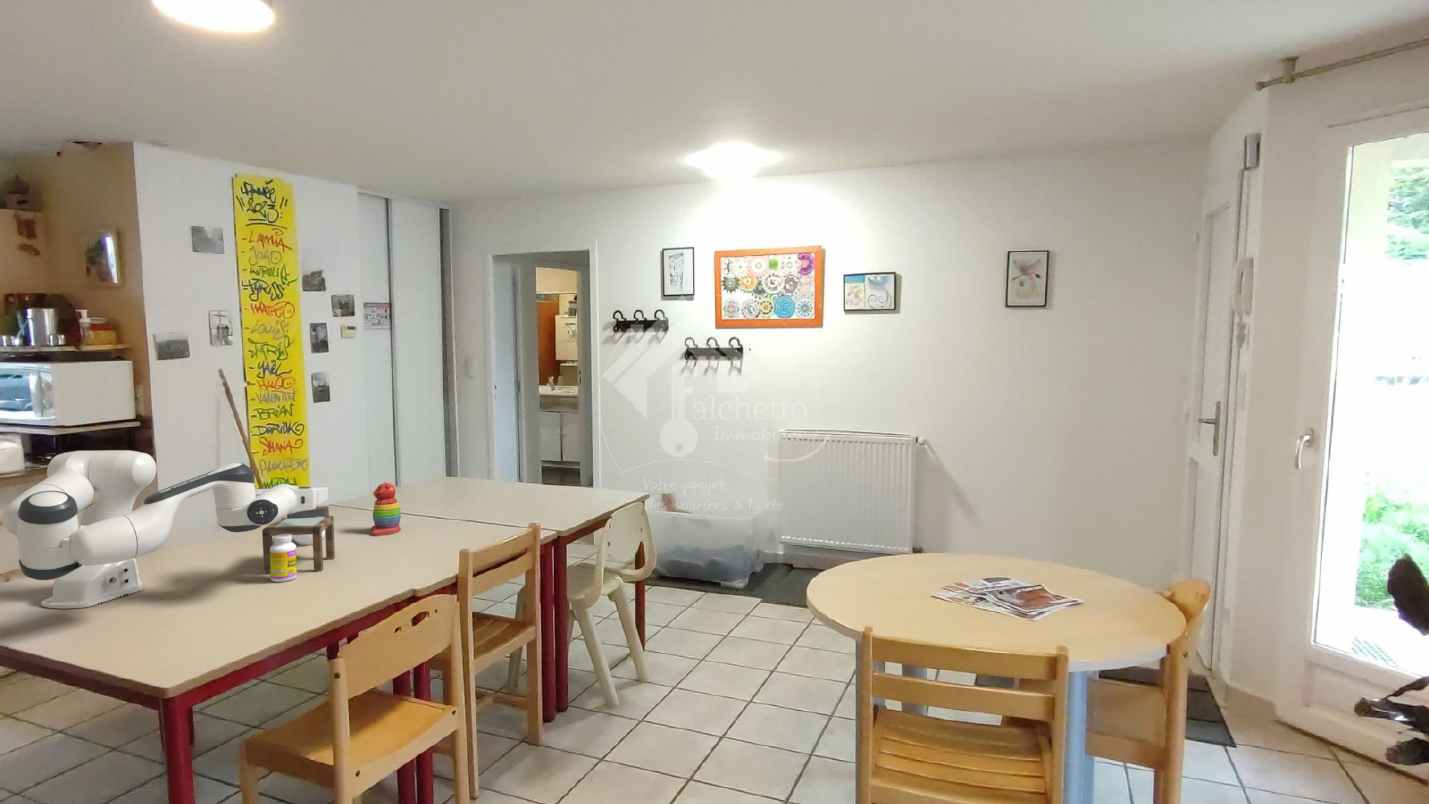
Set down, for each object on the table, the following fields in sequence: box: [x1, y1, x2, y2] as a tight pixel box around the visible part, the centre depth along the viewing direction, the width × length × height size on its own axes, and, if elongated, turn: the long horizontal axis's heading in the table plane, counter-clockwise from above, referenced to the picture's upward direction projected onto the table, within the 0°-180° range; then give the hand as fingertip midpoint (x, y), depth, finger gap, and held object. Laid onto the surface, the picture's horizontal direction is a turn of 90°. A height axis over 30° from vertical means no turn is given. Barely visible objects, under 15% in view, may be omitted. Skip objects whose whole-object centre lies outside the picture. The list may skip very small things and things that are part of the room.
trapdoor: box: [274, 505, 330, 528], centre depth 236 cm, size 16×11×6 cm
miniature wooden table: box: [261, 515, 336, 575], centre depth 234 cm, size 15×16×14 cm
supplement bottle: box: [270, 534, 298, 583], centre depth 221 cm, size 7×7×13 cm
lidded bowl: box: [292, 514, 331, 546], centre depth 260 cm, size 13×13×11 cm
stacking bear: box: [370, 481, 402, 537], centre depth 275 cm, size 11×10×18 cm
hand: (298, 490), depth 233 cm, fingers open, 8 cm apart
